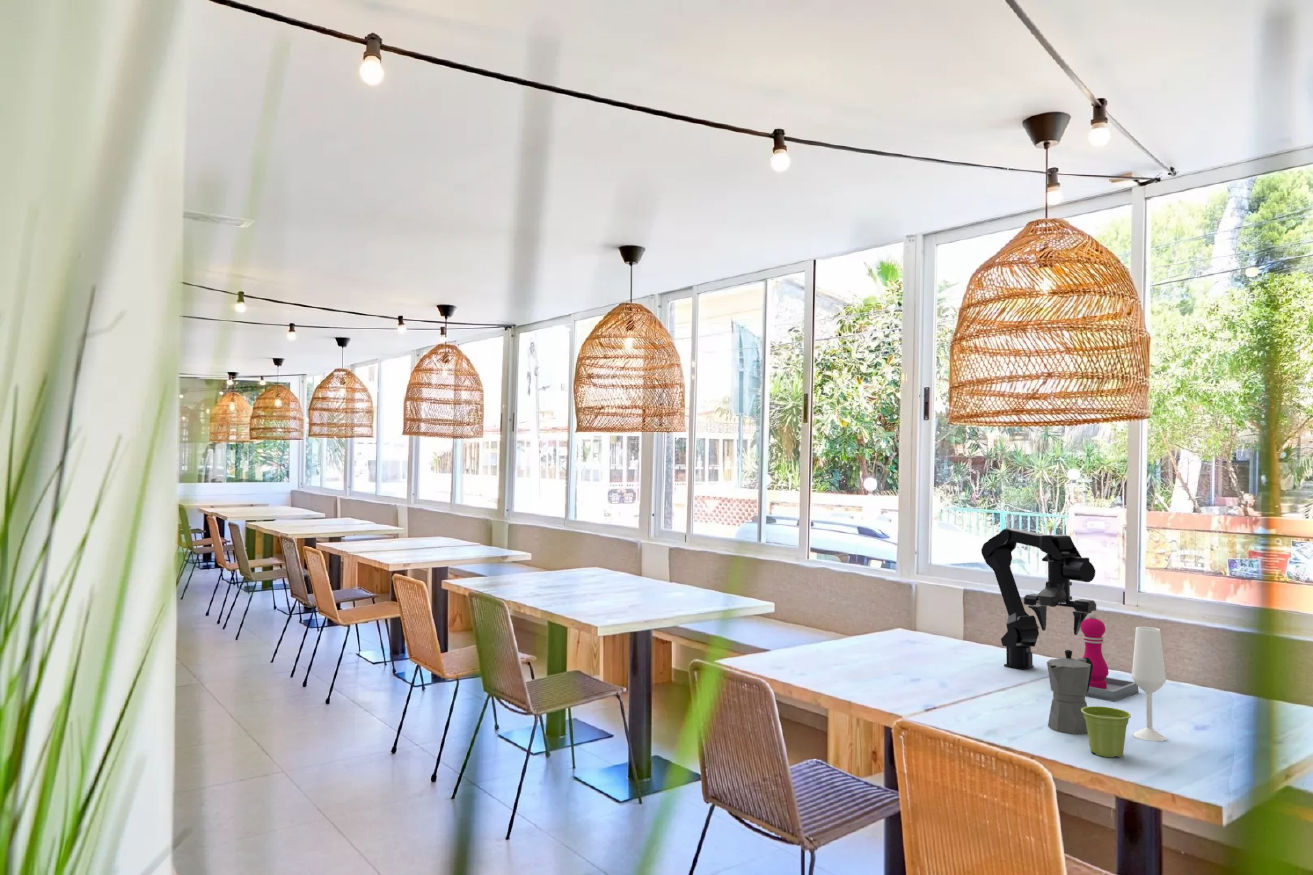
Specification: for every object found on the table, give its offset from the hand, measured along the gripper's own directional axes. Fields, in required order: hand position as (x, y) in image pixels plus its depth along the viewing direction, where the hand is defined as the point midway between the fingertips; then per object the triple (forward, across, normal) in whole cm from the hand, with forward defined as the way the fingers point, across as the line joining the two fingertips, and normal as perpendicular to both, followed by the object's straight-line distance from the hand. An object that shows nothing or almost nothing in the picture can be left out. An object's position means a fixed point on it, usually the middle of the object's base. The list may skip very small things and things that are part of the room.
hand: (1059, 632), depth 252 cm
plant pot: (+13, +38, -60) cm, 72 cm away
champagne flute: (+13, +39, -40) cm, 57 cm away
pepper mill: (+12, +12, -7) cm, 19 cm away
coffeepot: (+13, +25, -47) cm, 55 cm away
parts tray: (+13, +13, -7) cm, 20 cm away
